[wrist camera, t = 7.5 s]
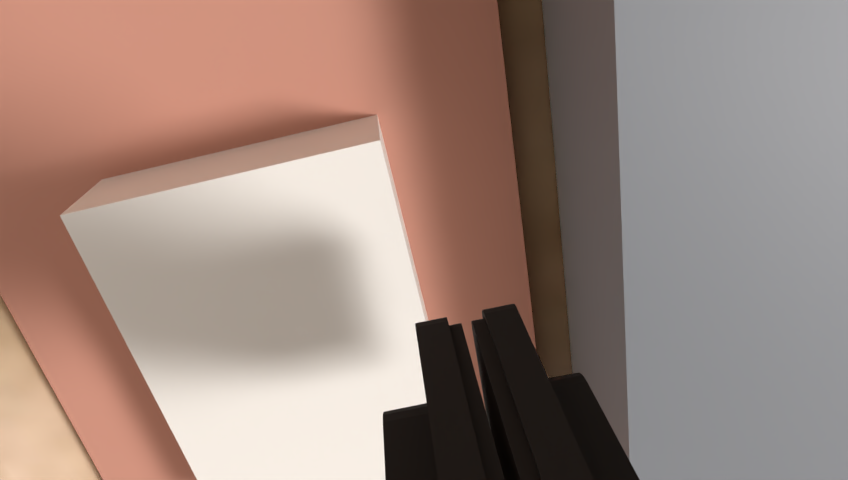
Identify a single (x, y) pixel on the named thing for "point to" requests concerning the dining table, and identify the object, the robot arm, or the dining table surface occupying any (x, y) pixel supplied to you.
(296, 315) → the cream block
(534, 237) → the dining table surface
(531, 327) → the terracotta mat
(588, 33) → the grey block
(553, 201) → the dining table surface
